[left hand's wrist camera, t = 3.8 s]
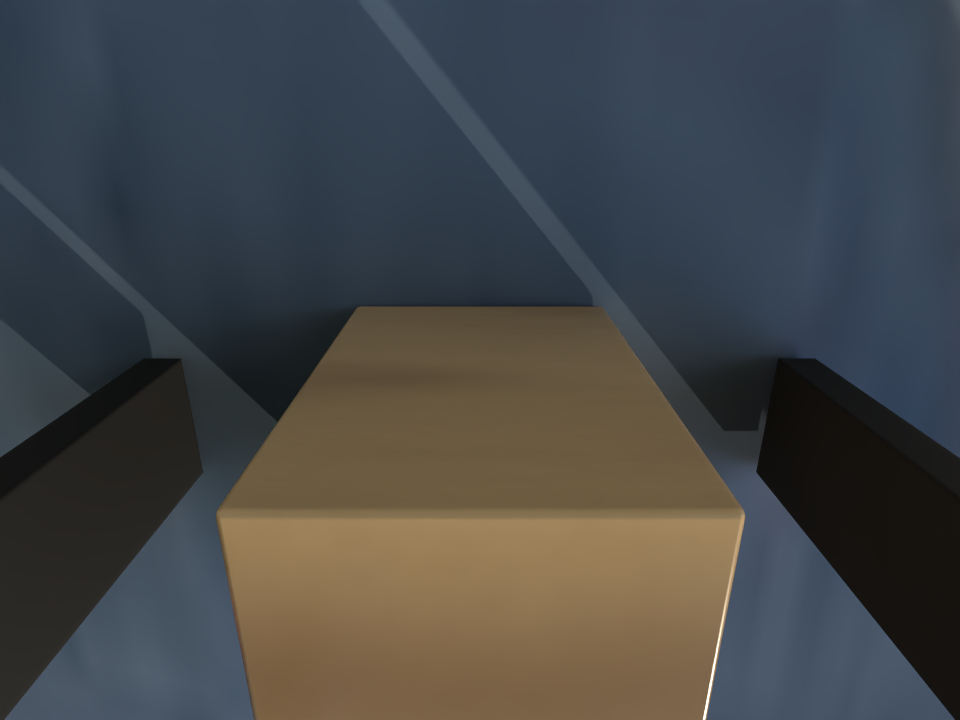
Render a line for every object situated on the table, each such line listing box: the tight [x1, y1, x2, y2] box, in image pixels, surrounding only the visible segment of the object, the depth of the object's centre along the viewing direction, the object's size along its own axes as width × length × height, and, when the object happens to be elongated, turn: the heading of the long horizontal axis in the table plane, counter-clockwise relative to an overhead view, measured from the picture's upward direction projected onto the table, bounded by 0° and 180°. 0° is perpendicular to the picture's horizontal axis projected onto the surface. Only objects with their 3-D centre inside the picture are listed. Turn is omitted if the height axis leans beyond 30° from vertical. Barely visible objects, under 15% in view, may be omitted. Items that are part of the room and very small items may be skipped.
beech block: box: [216, 306, 745, 720], centre depth 10 cm, size 5×5×7 cm
